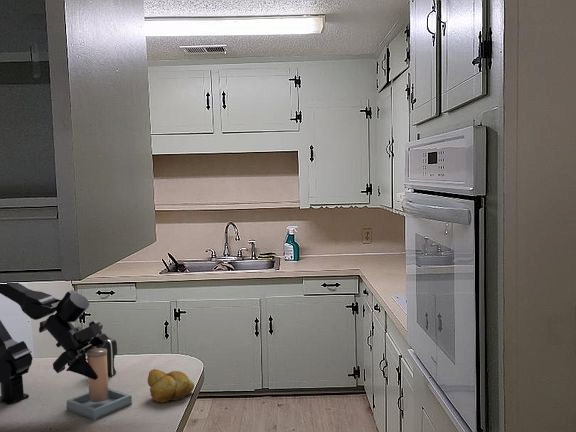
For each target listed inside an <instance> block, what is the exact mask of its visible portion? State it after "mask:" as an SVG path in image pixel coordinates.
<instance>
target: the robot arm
mask: <svg viewBox="0 0 576 432" xmlns="http://www.w3.org/2000/svg"><path fill="white" fill-rule="evenodd" d="M0 294H1V295H2V296H4V297H6V298H7V299H10V301H13V302H14V303H16V304H18V306H20V309H21V311H22V312H23V313H24V314H25V315H27V316H28V317H29V318H30V319H32V320H34V321H38V320H41V319H44V318H45V317H47V318H46V320H43V321H40V322H39V326H38V332H39V334H40V333H44V332H45V331H48V333H49V334H50V335H51V337H53V338H54V339H55V341H56V344H55V347H57V348H63V350H64V351H63V352H62V353H61V354H60V355H59V356H58V357H57V358H56V359H55V360H54V362H53V363H52V369H53V370H54V372H55V373H57V374H60V373H62V372H63V371H64V370H66V372H72V373H75V374H78V375H81V376H84V377H85V378H86V377H87V378H88V377H89V378H91V379H94V380H96V379H97V378H98V376H97V374H96V373H95V371H94V370H93V369H92V368H91V366H90V365H89V364H88V360H87V351H88V350H91V349H95V348H103V346H104V344H105V343H106V342H107V341H108V340H109V338H110V337H109V336H108V335H106V333H103V332H102V330H103V327H104V325H103V324H102V323H101V322H100V321H99V320H98V319H94V320H92V321H91V322H89V323H88V327H87V326H86V327H85V328H82V327H81V326H77V327H75V326H74V325H73V323H74V322H77V321H78V319H79V318H80V317H81V316H82V315H83V314H84V312H86V311H87V309H88V308H89V307H90V302H89V300H88V299H87V298H86V296H84V295H82V294H80V293H77V292H75V291H74V290H72V289H71V290H69V291H67V292H65V294H64V296H63V297H62V299H59V298H56V297H55V296H53V295H51V294H49V293H46V292H43V291H39V290H37V291H36V290H34V289H29V288H28V287H26V286H24V285H23V284H21V283H19V282H17V283H7V284H0ZM33 360H34V359H33V356H32V350H30V349H29V347H28V346H27V343H26V342H25V341H23V340H21V341H19V342H18V341H16V340H14V339H13V338H12V336H11V335H10V333H9V332H8V329H7V328H6V327H5V325H4V324H3V322H2V320H1V319H0V402H1V403H4V404H6V405H9V404H12V403H15V402H18V401H21V400H24V399H26V398H29V396H30V395H29V394H28V393H25V391H24V380H23V375H25V374H28V373H29V370H30V368H31V366H32V363H33ZM66 365H67V366H68V368H67V369H66ZM107 371H109V369H108V366H107Z"/></svg>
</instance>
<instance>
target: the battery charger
mask: <svg viewBox="0 0 576 432" xmlns="http://www.w3.org/2000/svg"><path fill="white" fill-rule="evenodd" d="M108 338H109V340H108V341H107V342H106V343H105V344H104V346H103V348H105V349H107V366H108V369H109V371H108V377H111V376H114V375H116V374H117V370H116V369H115V358H116V356H117V355H118V344H117V341H116V339H115V338H113V337H108Z"/></svg>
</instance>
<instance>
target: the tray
mask: <svg viewBox="0 0 576 432" xmlns="http://www.w3.org/2000/svg"><path fill="white" fill-rule="evenodd" d="M108 396H109V398H108V399H107V400H105V401H102V402H91V401H89V391H88V392H85V393H83V394H80V395H78V396H75V397H72V398H69V399H67V400H66V410H67V411H69V412H73V413H75V414H78V415H80V416H82V417H86V418H88V419H91V420H93V421H95V420H98V419H101V418H104V417H105V416H108V415H109V414H110V415H111V414H112V413H115V412H118V411H120V410H121V409H124V408H126V407H129V406H131V405H132V404H133V402H132V401H133V400H132V395H131V394H128V393H125V392H122V391H120V390H116V389H112V388H109V387H108Z"/></svg>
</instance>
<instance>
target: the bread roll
mask: <svg viewBox="0 0 576 432" xmlns="http://www.w3.org/2000/svg"><path fill="white" fill-rule="evenodd" d="M147 385H148V387H150V388H149V393H150V396H151V398H152V399H153V400H154V401H155V402H156V403H165V402H169V401H170V400H171V401H177V400H180V399H183V398H184V397H186V396H188V395H190V394H191V393H192V392H193V390H194V388H195V383H194V382H193V381H192V380H191V379H189V376H188V375H187V374H186V373H184V372H183V371H180V370H173V371H170V372H168V373H167V372H164V371H162V370H160V369H155V368H154V369H151V370H150V371H149V372H148V377H147Z"/></svg>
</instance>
